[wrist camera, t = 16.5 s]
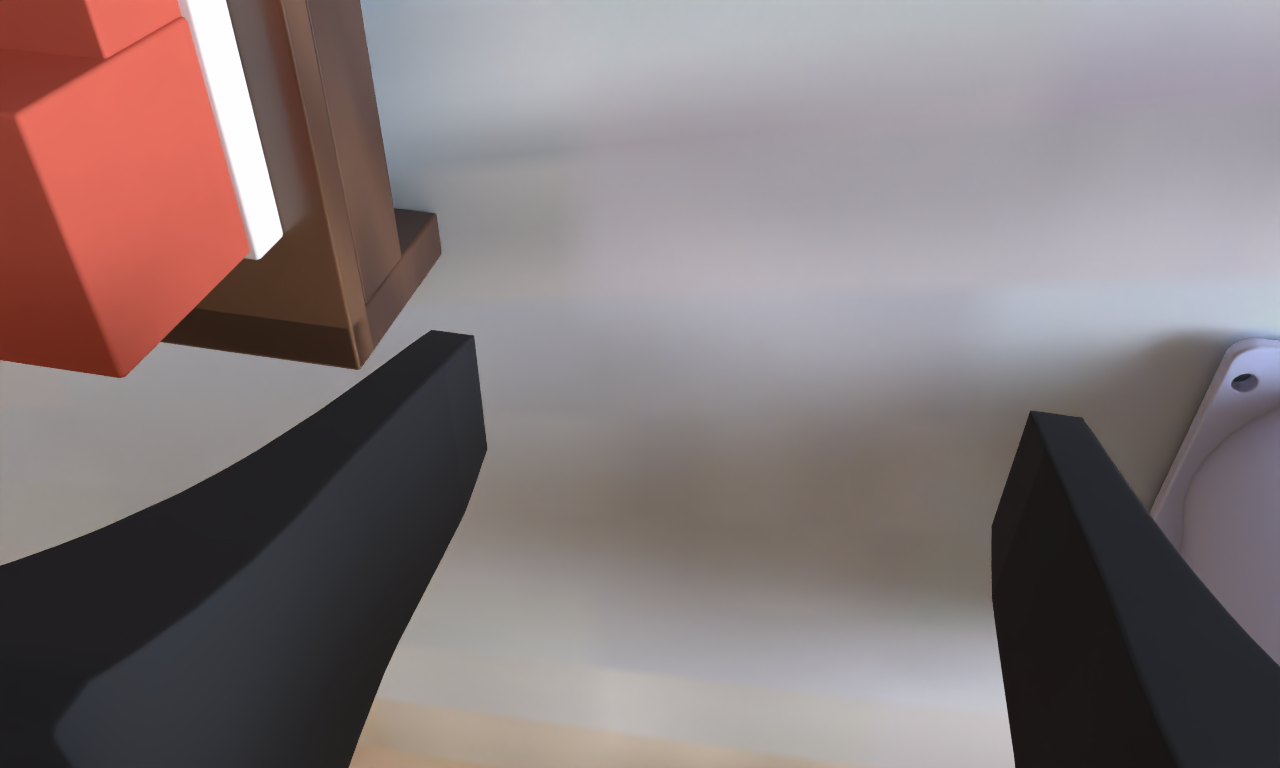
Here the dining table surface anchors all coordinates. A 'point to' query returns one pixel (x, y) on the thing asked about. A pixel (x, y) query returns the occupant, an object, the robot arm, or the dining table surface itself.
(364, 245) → the brown flanged block
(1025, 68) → the dining table surface
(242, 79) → the stepped red block
